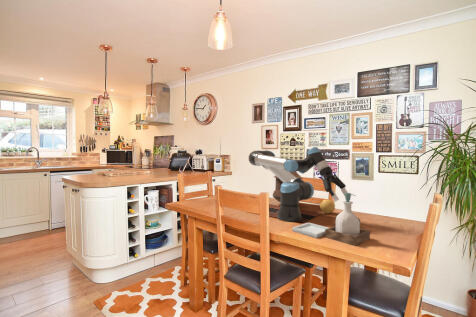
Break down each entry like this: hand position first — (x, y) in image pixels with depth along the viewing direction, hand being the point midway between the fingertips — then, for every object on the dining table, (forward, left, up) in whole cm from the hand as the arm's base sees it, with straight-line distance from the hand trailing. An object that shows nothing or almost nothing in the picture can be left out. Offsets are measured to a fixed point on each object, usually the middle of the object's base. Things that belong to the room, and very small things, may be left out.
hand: (342, 199), depth 150 cm
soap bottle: (+13, -20, -16) cm, 29 cm away
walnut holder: (+13, -20, -15) cm, 29 cm away
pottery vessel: (-55, +19, -16) cm, 61 cm away
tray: (-4, -25, -15) cm, 30 cm away
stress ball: (-21, +19, -16) cm, 32 cm away
